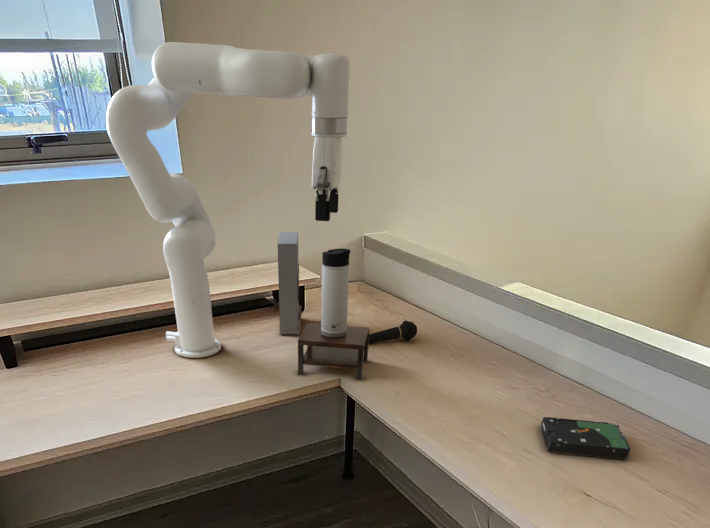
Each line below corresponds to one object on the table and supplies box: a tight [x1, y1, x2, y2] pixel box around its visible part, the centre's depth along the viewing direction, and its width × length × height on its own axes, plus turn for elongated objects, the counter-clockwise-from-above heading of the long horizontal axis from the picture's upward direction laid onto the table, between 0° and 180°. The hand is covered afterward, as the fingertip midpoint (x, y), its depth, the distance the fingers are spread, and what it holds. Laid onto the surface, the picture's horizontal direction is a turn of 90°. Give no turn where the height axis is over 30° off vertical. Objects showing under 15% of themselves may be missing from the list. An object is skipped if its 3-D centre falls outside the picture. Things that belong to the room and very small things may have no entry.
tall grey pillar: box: [277, 231, 302, 336], centre depth 159 cm, size 14×6×25 cm, turn 179°
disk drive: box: [540, 416, 632, 460], centre depth 112 cm, size 10×3×15 cm
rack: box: [297, 322, 370, 381], centre depth 140 cm, size 16×12×9 cm
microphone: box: [368, 320, 418, 345], centre depth 155 cm, size 6×6×20 cm
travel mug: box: [320, 248, 351, 338], centre depth 132 cm, size 6×7×20 cm
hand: (326, 216), depth 127 cm, fingers open, 9 cm apart
